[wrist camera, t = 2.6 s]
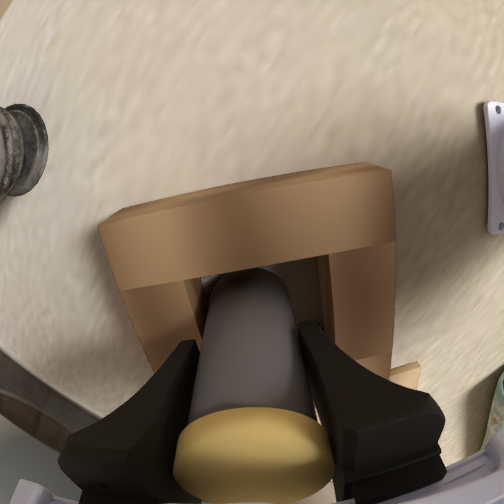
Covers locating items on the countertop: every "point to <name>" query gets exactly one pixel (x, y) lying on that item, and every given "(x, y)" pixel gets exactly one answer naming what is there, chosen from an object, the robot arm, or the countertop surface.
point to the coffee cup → (320, 496)
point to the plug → (252, 402)
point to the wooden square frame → (263, 254)
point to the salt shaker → (21, 149)
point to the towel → (496, 412)
